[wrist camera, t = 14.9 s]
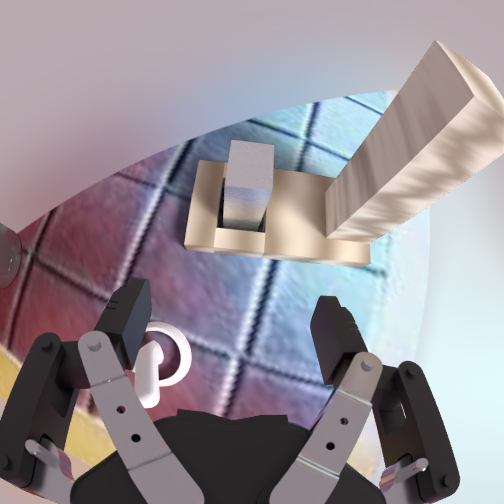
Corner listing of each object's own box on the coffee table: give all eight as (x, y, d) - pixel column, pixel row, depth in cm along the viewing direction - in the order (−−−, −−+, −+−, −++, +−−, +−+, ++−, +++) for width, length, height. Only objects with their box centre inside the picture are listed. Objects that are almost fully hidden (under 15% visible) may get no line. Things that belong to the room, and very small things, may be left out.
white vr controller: (166, 446, 21) (108, 420, 17) (156, 370, 31) (114, 341, 28) (220, 415, 21) (162, 382, 18) (197, 338, 32) (156, 304, 28)
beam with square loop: (186, 250, 32) (114, 41, 6) (200, 170, 35) (190, -30, 9) (361, 267, 33) (538, 169, 8) (356, 192, 36) (475, 59, 11)
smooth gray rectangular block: (222, 230, 33) (224, 185, 22) (227, 193, 34) (231, 139, 24) (255, 233, 33) (272, 191, 23) (258, 197, 34) (274, 145, 24)
